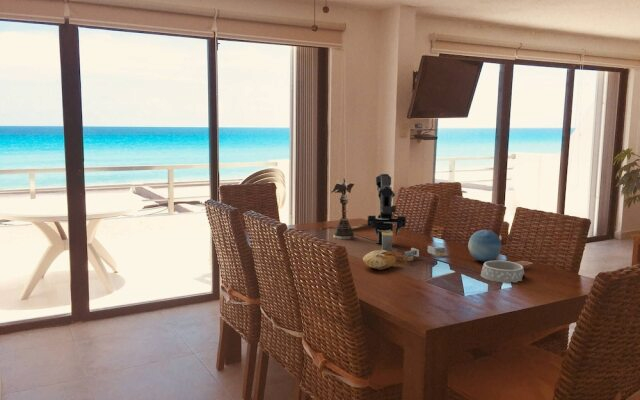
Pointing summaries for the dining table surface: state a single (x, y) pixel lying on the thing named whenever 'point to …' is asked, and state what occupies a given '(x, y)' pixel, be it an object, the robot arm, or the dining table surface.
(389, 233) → the block
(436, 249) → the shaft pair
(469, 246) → the decorative ball
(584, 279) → the dining table surface
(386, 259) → the nautilus
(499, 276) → the dog bowl
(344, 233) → the bird statue
